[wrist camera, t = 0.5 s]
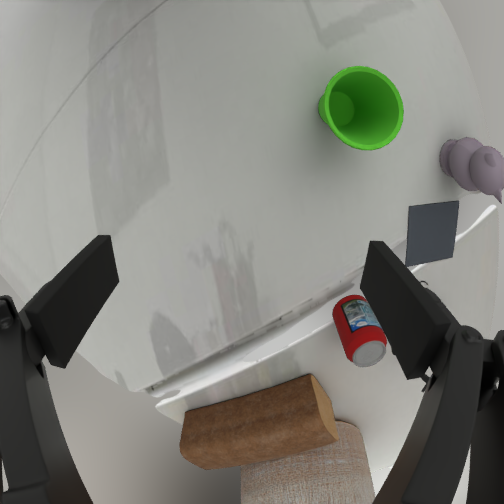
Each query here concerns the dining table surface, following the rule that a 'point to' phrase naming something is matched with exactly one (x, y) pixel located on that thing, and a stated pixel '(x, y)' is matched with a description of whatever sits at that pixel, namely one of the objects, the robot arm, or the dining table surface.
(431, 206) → the placemat
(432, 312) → the robot arm
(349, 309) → the beverage can
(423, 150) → the dining table surface
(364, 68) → the cup
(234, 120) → the dining table surface
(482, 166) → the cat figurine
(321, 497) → the planter
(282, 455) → the bread
